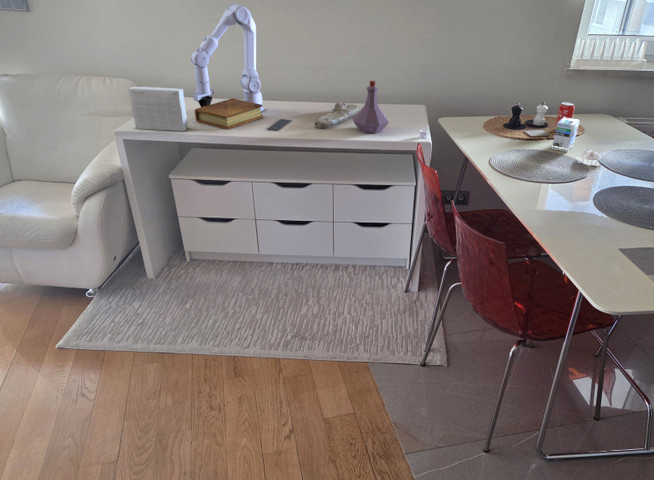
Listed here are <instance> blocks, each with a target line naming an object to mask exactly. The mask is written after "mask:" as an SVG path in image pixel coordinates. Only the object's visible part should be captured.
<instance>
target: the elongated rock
mask: <svg viewBox="0 0 654 480" xmlns="http://www.w3.org/2000/svg"><path fill="white" fill-rule="evenodd" d="M359 111H360V110H359V105H357V104H353V103H352V104H347V103H345V102H342V103H340V102H336V103H335V105H334V108H333V109H332V110H331V111H330V112H328V113H326V114H324V115H322V116H320V117H318V118H315V121H314V125H315V127H316V128H318V129H322V130H325V129H328V128H330V127H332V126H335V125H338V124H340V123H342V122H344V121H345V122H346V120H347V119H349V118H351V117H354V116H355V115H356V114H357V113H358V112H359Z"/></svg>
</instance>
